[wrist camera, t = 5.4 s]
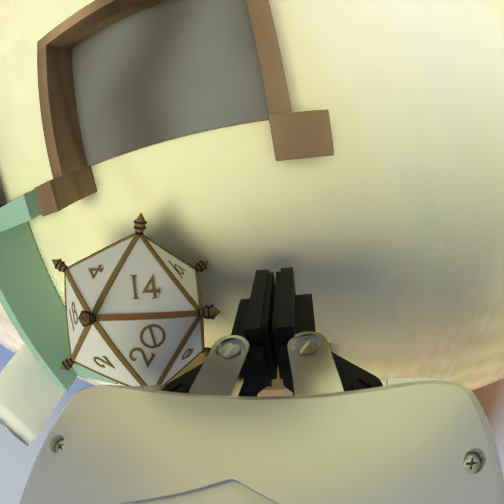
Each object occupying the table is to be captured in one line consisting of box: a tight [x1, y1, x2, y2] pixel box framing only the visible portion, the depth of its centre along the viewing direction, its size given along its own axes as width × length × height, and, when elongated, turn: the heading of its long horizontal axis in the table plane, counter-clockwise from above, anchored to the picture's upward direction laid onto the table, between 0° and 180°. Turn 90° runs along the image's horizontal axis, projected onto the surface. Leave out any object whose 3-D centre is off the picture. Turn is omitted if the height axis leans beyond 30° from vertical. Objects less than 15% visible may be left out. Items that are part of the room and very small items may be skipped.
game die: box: [52, 213, 220, 387], centre depth 12 cm, size 9×8×10 cm
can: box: [0, 343, 66, 446], centre depth 17 cm, size 6×6×12 cm
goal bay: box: [0, 190, 118, 390], centre depth 15 cm, size 6×15×5 cm, turn 10°
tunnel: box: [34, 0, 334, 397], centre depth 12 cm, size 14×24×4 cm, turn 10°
